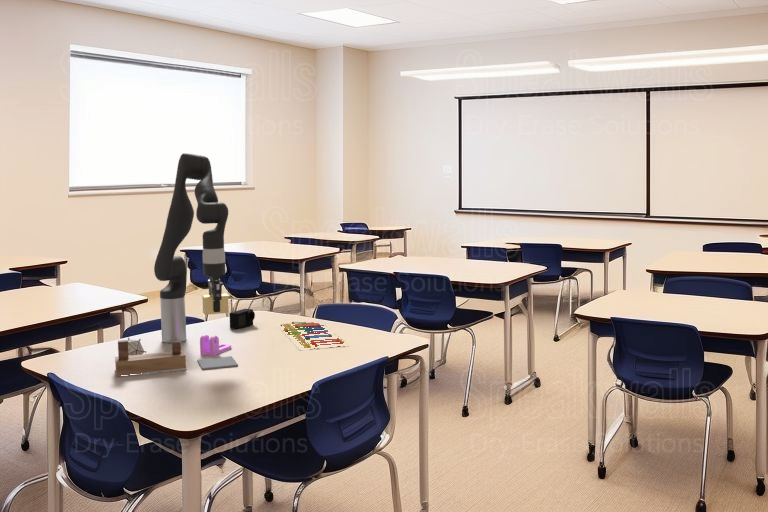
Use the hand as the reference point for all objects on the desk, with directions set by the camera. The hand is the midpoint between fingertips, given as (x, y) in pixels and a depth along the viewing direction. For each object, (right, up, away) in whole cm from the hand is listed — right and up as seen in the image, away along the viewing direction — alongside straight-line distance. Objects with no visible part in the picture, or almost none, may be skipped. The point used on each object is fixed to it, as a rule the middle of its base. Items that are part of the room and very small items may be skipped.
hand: (215, 310), depth 254 cm
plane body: (-20, -20, -6) cm, 29 cm away
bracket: (-4, -17, +20) cm, 26 cm away
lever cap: (0, -1, 0) cm, 1 cm away
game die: (-31, -19, +6) cm, 36 cm away
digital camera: (-2, -12, +59) cm, 61 cm away
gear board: (+28, -14, +44) cm, 54 cm away
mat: (0, -19, +2) cm, 19 cm away
